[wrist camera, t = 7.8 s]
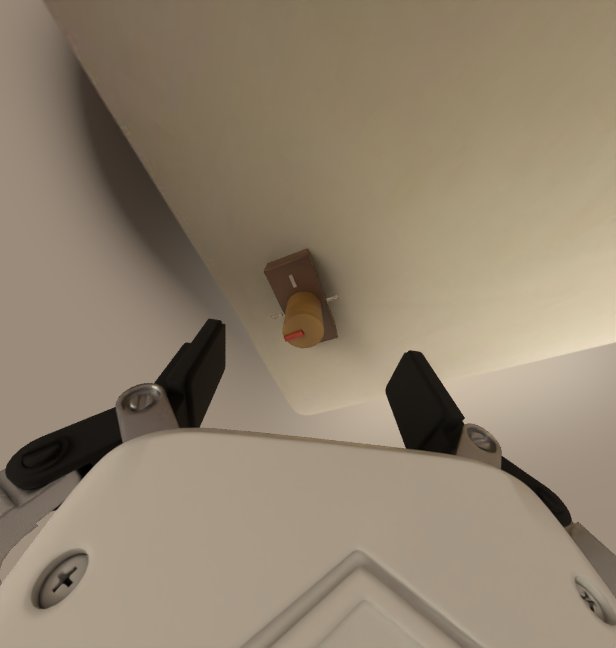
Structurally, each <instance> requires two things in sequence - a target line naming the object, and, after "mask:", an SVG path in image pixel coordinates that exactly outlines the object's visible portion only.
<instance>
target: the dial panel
mask: <svg viewBox="0 0 616 648" xmlns="http://www.w3.org/2000/svg"><path fill="white" fill-rule="evenodd" d="M264 273H265V275H266V277H267V279H268V281H269V283H270V285H271V287H272V289H273V291H274V293H275V295H276V298H277V300H278V302H279V304H280V306H281V308H282V310H283V312H284V314H285V312H286V306H287V302H288V300H289V298H290V297H291V296H292V295H294V294H295V293H298V292H310V293H312V294H314V295H316V296H317V297H318V299H319V300H320V302H321V307H322V316H323V325H324V335H323V337H322V339H321V340H320V342H324V341H327V340H331V339H334V338H337V337H338V334H337V329H336V325H335V322H334V320H333V317H332V314H331V311H330V309H329V306H328V303H327V302H328V301H331V300H334V299H337V298H339V296H338V295H335V296H332V297H329V298H326V297H325V295H324V292H323V289H322V286H321V283H320V281H319V278H318V275H317V272H316V269H315V267H314V264H313V261H312V258H311V255H310V253H309V250H308V249H305V250H302V251H300V252H297V253H294V254H292V255H289V256H286V257H284V258H281V259H278V260H276V261H273V262H270V263H268V264H267V265H266V267H265V269H264ZM282 316H283V314H282V313H280V314H277V315H274V316H271V318H272V319H275V318H279V317H282ZM320 342H319V343H320Z"/></svg>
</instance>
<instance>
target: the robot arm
mask: <svg viewBox="0 0 616 648" xmlns="http://www.w3.org/2000/svg"><path fill="white" fill-rule="evenodd" d="M224 369H225V324H222V321H220V320H215V319H208V320H207V321H206V323H205V324H204V326H203V327H202V329H201V330H200V331H199V333H198V334H197V336H196V337H195V338H194V340H193V341H192V343H185V344H184V345H183V346H182V347H181V348H180V350H179V351H178V353H177V354H176V355H175V356H174V358H173V359H172V360H171V362H170V363H169V364H168V365H167V367H166V368H165V370H164V371H163V372H162V373H161V375H160V376H159V377H158V379H157V380H156V381H155V383H154V384H153V383H144V384H140V385H137V386H134V387H132V388H130V389H128V390H127V391H125V392H123V393H122V395H121V396H119V398H118V400H117V401H116V407H114V408H112V409H109V410H107V411H104V412H102V413H100V414H97V415H94V416H92V417H89V418H87V419H85V420H82V421H80V422H77V423H75V424H72V425H70V426H67V427H65V428H62V429H60V430H57V431H55V432H53V433H50V434H47V435H45V436H42V437H40V438H38V439H36V440H34V441H32V442H30V443H29V444H27V445H26V446H24V447H23V448H21V449H20V450H19V451H18V452H17V453H16V454H15V455H14V456H13V457H12V458H11V460H10V461H9V463H8V464H7V466H6V468H5V469H4V470H2V471H0V568H1V565H2V562H3V560H4V558H5V557H6V556H7V554H8V553H9V551H10V550H11V549H12V548H13V547H14V546H15V545H16V544H17V543H18V542H19V541H20V540H21V539H22V538H23V537H24V536H26V535H27V534H28V533H30V532H31V531H32V530H33V529H34V528H36V527H37V526H38V525H37V524H36V523H37V522H38V521H39V520H41V519H42V518H43V517H44V516H46V515H47V514H48V513H50V512H51V511H55V510H57V511H56V512H55V513H54V514H53V516H52V517H51V518H50V520H49V521H48V522H47V524H46V525H45V526H44V528H43V529H42V530H41V532H40V533H39V535H38V536H37V537H36V539H35V540H34V541H33V542H32V544H31V545H30V546H29V548H28V549H27V550H26V552H25V553H24V554H23V556H22V557H21V559H20V560H19V561H18V562H17V564H16V565H15V566H14V568H13V569H12V570H11V572H10V573H9V574H8V576H7V577H6V578H5V580H4V581H3V583H2V582H1V581H0V648H616V556H615V555H614V554H613V553H612V552H611V551H610V550H609V549H608V548H607V547H606V546H604V545H603V544H602V543H601V542H600V541H599V540H598V539H597V538H595V537H594V536H593V535H592V534H591V533H590V532H589V531H588V530H587V529H586V528H584V527H583V526H582V525H581V524H580V523H579V522H577V523H575V524H574V523H573V522H572V519H571V515H570V513H569V511H568V509H567V507H566V506H565V505H564V503H563V502H562V501H561V500H560V498H559V497H558V496H557V495H556V494H555V493H554V492H552V491H551V490H550V489H548V488H547V487H546V486H544V485H543V484H541V483H540V482H539V481H537V480H536V479H534V478H533V477H531V476H530V475H529V474H527V473H526V472H524V471H523V470H521V469H520V468H518V467H517V466H516V465H514V464H513V463H511V462H510V461H508V460H507V459H505V458H504V457H503V456H501V454H502V452H501V447H500V445H499V443H498V442H497V440H496V439H495V438H494V437H493V436H492V435H491V434H490V433H489V432H488V431H486V430H485V429H483V428H482V427H480V426H478V425H475V424H464V423H463V420H464V419H465V417H464V416H463V414H462V413H461V411H460V410H459V408H458V407H457V405H456V404H455V402H454V401H453V399H452V398H451V396H450V395H449V393H448V392H447V390H446V389H445V387H444V386H443V384H442V383H441V381H440V380H439V378H438V377H437V375H436V374H435V372H434V371H433V369H432V368H431V366H430V364H429V363H428V361H427V360H426V358H425V357H424V355H423V354H422V353H421V352H418V351H411V350H410V351H408V352H406V353H404V355H403V356H402V358H401V360H400V362H399V364H398V366H397V368H396V370H395V371H394V373H393V375H392V377H391V379H390V381H389V383H388V384H387V386H386V395H387V398H388V401H389V404H390V406H391V409H392V411H393V414H394V417H395V420H396V422H397V425H398V428H399V431H400V434H401V436H402V439H403V442H404V444H405V447H406V449H404V448H395V447H387V446H379V445H370V444H361V443H352V442H344V441H334V440H325V439H316V438H307V437H298V436H288V435H279V434H269V433H260V432H250V431H238V430H227V429H216V428H200V425H201V423H202V421H203V418H204V416H205V414H206V411H207V409H208V407H209V405H210V402H211V400H212V398H213V395H214V393H215V391H216V389H217V386H218V384H219V382H220V379H221V377H222V375H223V372H224ZM85 555H87V556H88V557H87V556H85Z"/></svg>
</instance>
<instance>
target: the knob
mask: <svg viewBox="0 0 616 648" xmlns="http://www.w3.org/2000/svg"><path fill="white" fill-rule="evenodd" d="M283 335H284V339H285V341H286V342H288V343H290V344H291V345H293V346H295V347H299V348H308V347H312V346H314V345H316V344H317V343H319V342H320V340H321V339H322V337H323V335H324V325H323V316H322V307H321V302H320V300H319V299H318V297H317V296H316V295H314V294H312V293H310V292H298V293H295V294H294V295H292V296H291V297H290V298H289V300H288V302H287V306H286V312H285V318H284V324H283Z"/></svg>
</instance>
